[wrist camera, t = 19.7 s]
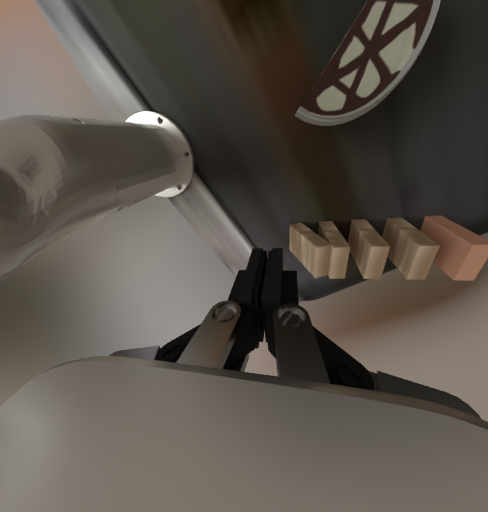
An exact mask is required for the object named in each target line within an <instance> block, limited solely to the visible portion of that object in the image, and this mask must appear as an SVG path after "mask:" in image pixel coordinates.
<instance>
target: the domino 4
mask: <svg viewBox="0 0 488 512" xmlns="http://www.w3.org/2000/svg"><path fill="white" fill-rule="evenodd" d="M382 238H383V239H384V240H385V241H386V242H387V243H388V245H389V246H390V249H389V252H388V257H389V258H390V260H391V261H392V262H393V263H394V265H395V266H396V267H397V268H398V270H399V271H400V272H401V273H402V275H403V276H404V277H405V278H406V279H407V280H425V278H426V276H427V274H428V272H429V269H430V267H431V265H432V263H433V261H434V258H435V256H436V254H437V252H438V249H439V247H440V245H439V244H437V243H436V242H434V241H433V240H432V239H430V238H429V237H428V236H426V235H425V234H424V233H422V232H421V231H420V230H418V229H417V228H415V227H414V226H413V225H411V224H410V223H409V222H407V221H406V220H405V219H403V218H387V221H386V224H385V228H384V232H383V236H382Z"/></svg>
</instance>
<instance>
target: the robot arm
mask: <svg viewBox="0 0 488 512" xmlns="http://www.w3.org/2000/svg"><path fill="white" fill-rule="evenodd" d="M161 120H163V123H162V121H161ZM187 152H188V154H189V156H188V155H187ZM193 173H194V157H193V152H192V149H191V146H190V143H189V141H188V139H187V137H186V136H185V134H184V133H183V131H182V130H181V129H180V127H179V126H178V125H177V124H176V123H175V122H174V121H173V120H171V119H170V118H168V117H167V116H165V115H163V114H160V113H158V112H153V111H140V112H137V113H135V114H133V115H131V116H130V117H129V118H128V119H127V120H126V122H123V121H111V120H98V119H97V120H96V119H85V118H71V117H58V116H46V115H20V116H14V117H10V118H7V119H4V120H1V121H0V281H1V280H2V279H4V278H5V277H7V276H8V275H9V274H11V273H12V272H14V271H15V270H17V269H18V268H19V267H21V266H22V265H24V264H25V263H26V262H28V261H29V260H30V259H32V258H33V257H34V256H36V255H37V254H38V253H40V252H41V251H42V250H44V249H45V248H47V247H48V246H50V245H51V244H53V243H54V242H56V241H58V240H59V239H61V238H62V237H65V236H66V235H68V234H70V233H72V232H74V231H76V230H78V229H80V228H82V227H84V226H86V225H88V224H90V223H92V222H95V221H97V220H99V219H101V218H103V217H106V216H108V215H111V214H112V213H115V212H117V211H119V210H122V209H124V208H126V207H128V206H131V205H133V204H135V203H137V202H139V201H142V200H144V199H146V198H148V197H151V196H153V195H155V196H159V197H166V198H169V197H174V196H176V195H178V194H180V193H182V192H183V191H184V190H185V189H186V188H187V187H188V186H189V184H190V182H191V180H192V177H193ZM180 185H181V187H182V188H181V187H180ZM264 330H265V338H266V342H268V350H269V351H270V353H271V354H272V355H273V356H274V357H275V358H276V363H277V373H278V377H277V376H270V375H262V374H255V373H248V372H244V371H245V368H246V365H247V362H248V359H249V353H250V352H251V351H253V350H254V349H255V348H258V347H259V342H263V337H264ZM0 512H488V422H487V421H484V420H482V419H481V418H480V416H479V415H478V414H477V413H476V412H475V411H474V410H473V409H472V408H471V407H470V406H469V405H468V404H467V403H465V402H464V401H462V400H461V399H459V398H458V397H456V396H454V395H451V394H449V393H446V392H444V391H440V390H437V389H434V388H430V387H428V386H424V385H421V384H418V383H415V382H412V381H408V380H405V379H402V378H399V377H396V376H392V375H389V374H386V373H383V372H380V371H377V374H376V373H373V372H370V371H368V370H367V369H366V368H365V367H364V366H363V365H362V364H361V363H359V362H358V361H357V360H355V359H354V358H353V357H352V356H350V355H349V354H347V353H346V352H345V351H344V350H343V349H341V348H340V347H339V346H337V345H336V344H335V343H334V342H332V341H331V340H330V339H328V338H327V337H326V336H325V335H323V334H322V333H321V332H319V331H318V330H317V329H316V328H314V327H313V326H312V323H311V320H310V317H309V314H308V312H307V311H306V310H305V309H304V308H303V307H301V306H299V305H298V288H297V271H283V249H282V248H273V249H272V251H269V253H268V259H267V252H266V251H263V249H262V248H254V249H253V250H252V253H251V256H250V259H249V262H248V265H247V269H246V270H239V271H238V274H237V277H236V279H235V282H234V285H233V287H232V290H231V293H230V296H229V298H228V301H222V302H219V303H217V304H216V305H214V306H213V307H212V308H211V309H210V311H209V313H208V314H207V316H206V317H205V319H204V320H203V322H202V323H201V324H200V325H198V326H197V327H195V328H193V329H191V330H190V331H188V332H186V333H184V334H183V335H181V336H179V337H177V338H176V339H174V340H172V341H170V342H169V343H167V344H166V345H165V346H163V347H162V348H160V346H152V347H145V348H136V349H129V350H120V351H117V352H114V353H113V354H111V355H109V356H95V357H87V358H81V359H77V360H73V361H69V362H65V363H62V364H59V365H57V366H54V367H52V368H50V369H48V370H46V371H44V372H42V373H41V374H39V375H38V376H36V377H35V378H34V379H32V380H31V381H30V382H28V383H27V384H26V385H25V386H24V387H23V388H21V389H20V390H19V391H18V392H17V393H15V394H14V395H13V396H12V397H11V398H10V399H9V400H8V401H6V402H5V403H4V404H3V405H2V406H1V407H0Z"/></svg>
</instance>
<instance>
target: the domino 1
mask: <svg viewBox="0 0 488 512" xmlns="http://www.w3.org/2000/svg"><path fill="white" fill-rule="evenodd" d="M331 246H332V245H331V244H330V243H329V242H327V241H326V240H324V239H323V238H322V237H320V236H319V235H317V234H316V233H315V232H313V231H312V230H311V229H309V228H308V227H306V226H305V225H304V224H302V223H301V222H299V223H295V224H290V251H291V252H292V253H293V254H294V255H295V256H296V257H297V259H298V260H299V261H300V262H301V263H302V264H303V265H304V266H305V267H306V268H307V270H308V271H309V272H310V273H311V274H312V275H313V276H314V277H315V278H318V277H322V276H326V275H328V272H329V263H330V255H331Z"/></svg>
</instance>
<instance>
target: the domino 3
mask: <svg viewBox="0 0 488 512" xmlns="http://www.w3.org/2000/svg"><path fill="white" fill-rule="evenodd" d="M348 245H349V246H350V253H351V255H352V257H353V259H354V261H355V263H356V264H357V266H358V268H359V270H360V272H361V274H362V276H363V278H364V279H381V276H382V273H383V269H384V266H385V263H386V259H387V256H388V252H389V249H390V246H389V245H388V243H387V242H386V241H385V240H384V239H383V238H382V237H381V236H380V235H379V233H378V232H377V231H376V230H375V229H374V228H373V227H372V226H371V225H370V224H369V222H368V221H367V220H366V219H360V220H352V222H351V228H350V234H349V240H348Z"/></svg>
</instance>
